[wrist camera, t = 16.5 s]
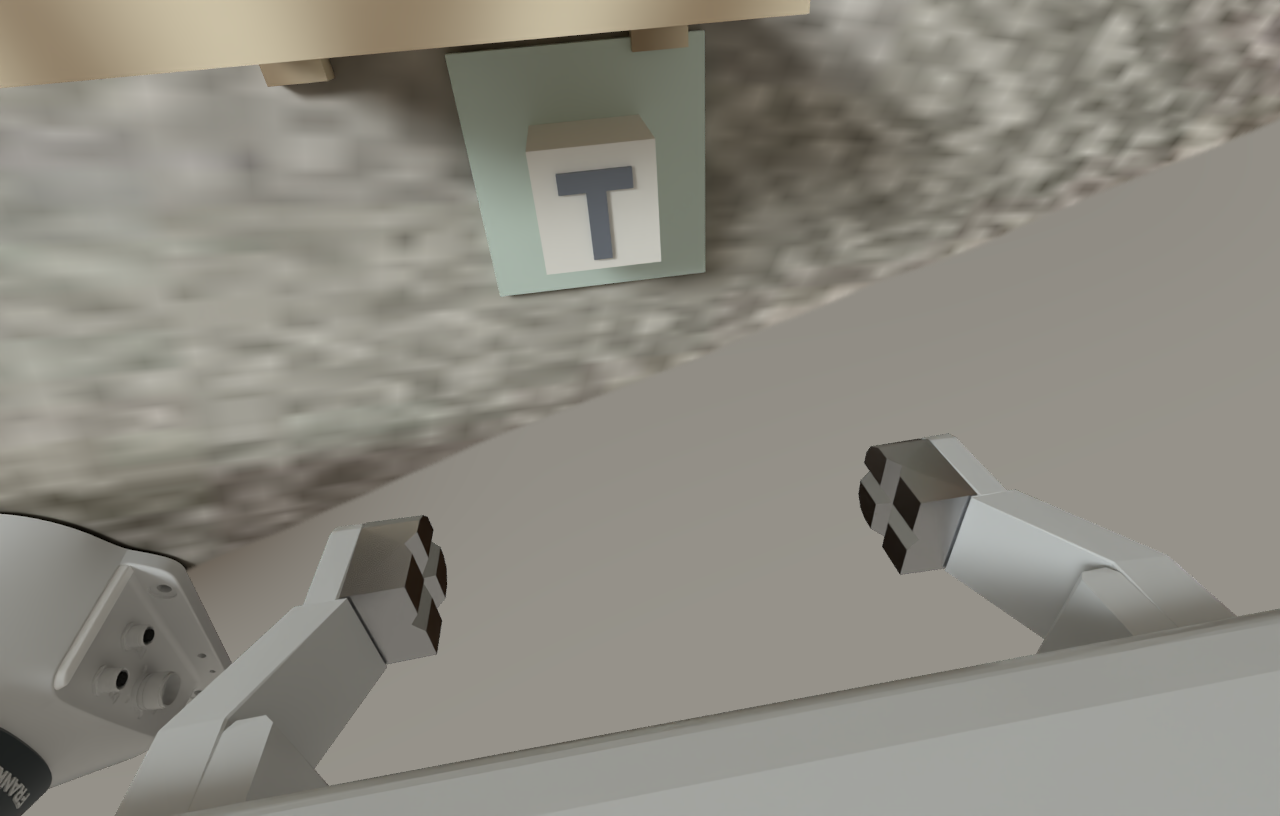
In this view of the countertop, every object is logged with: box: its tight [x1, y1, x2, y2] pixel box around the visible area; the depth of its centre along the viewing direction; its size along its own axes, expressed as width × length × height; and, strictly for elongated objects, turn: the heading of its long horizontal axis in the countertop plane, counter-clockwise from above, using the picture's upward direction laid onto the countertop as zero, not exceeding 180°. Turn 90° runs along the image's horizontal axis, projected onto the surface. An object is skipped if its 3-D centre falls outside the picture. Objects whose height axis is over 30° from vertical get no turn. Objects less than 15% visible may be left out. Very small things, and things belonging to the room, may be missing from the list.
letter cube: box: [526, 114, 661, 275], centre depth 26 cm, size 5×5×5 cm
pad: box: [445, 30, 705, 297], centre depth 28 cm, size 11×11×1 cm
